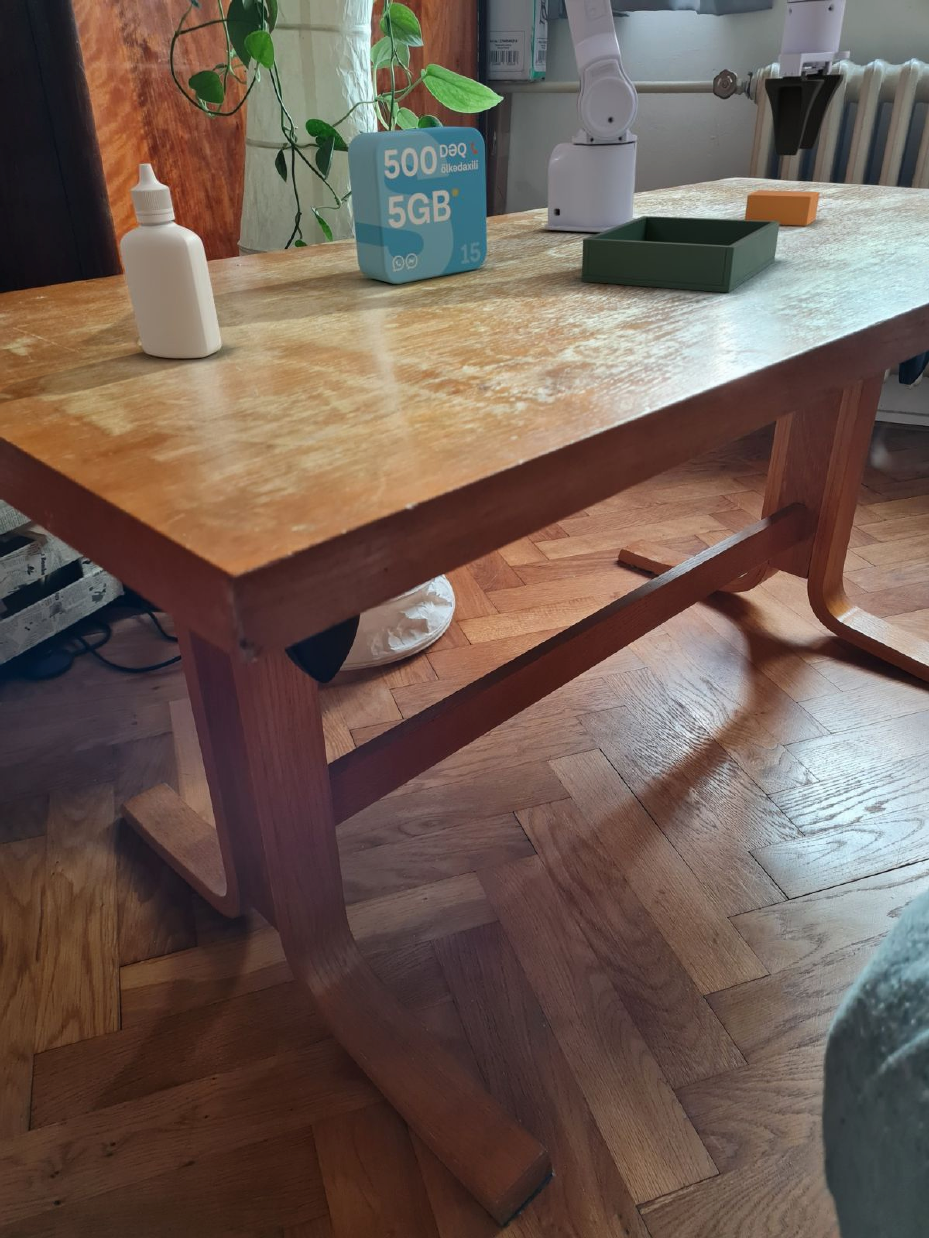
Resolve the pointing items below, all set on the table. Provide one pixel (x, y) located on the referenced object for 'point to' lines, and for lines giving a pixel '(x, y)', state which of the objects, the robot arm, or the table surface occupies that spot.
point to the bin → (680, 253)
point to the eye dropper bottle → (168, 277)
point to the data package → (418, 202)
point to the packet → (782, 207)
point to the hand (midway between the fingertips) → (795, 152)
